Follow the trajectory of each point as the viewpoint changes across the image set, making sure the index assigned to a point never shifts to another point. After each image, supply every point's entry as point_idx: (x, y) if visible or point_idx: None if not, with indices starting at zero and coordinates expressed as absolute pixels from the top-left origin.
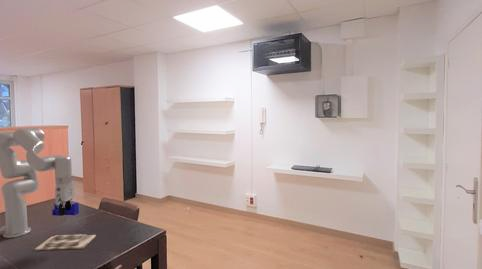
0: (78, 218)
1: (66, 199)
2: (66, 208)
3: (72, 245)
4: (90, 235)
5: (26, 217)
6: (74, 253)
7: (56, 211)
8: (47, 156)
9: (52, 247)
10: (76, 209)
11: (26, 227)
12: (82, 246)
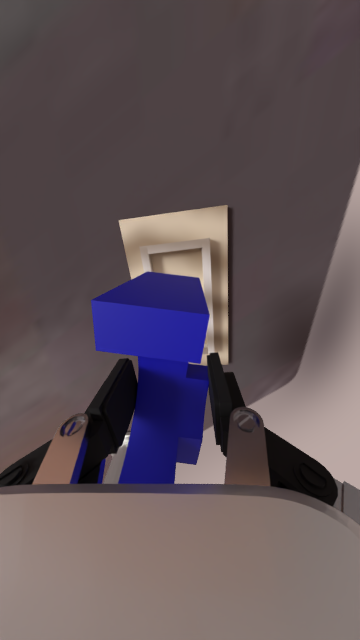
0: (13, 374)
1: (310, 585)
2: (131, 400)
3: (213, 260)
4: (127, 241)
5: (111, 483)
6: (265, 217)
7: (201, 428)
8: None
9: (223, 321)
10: (168, 284)
11: (125, 449)
12: (224, 210)
